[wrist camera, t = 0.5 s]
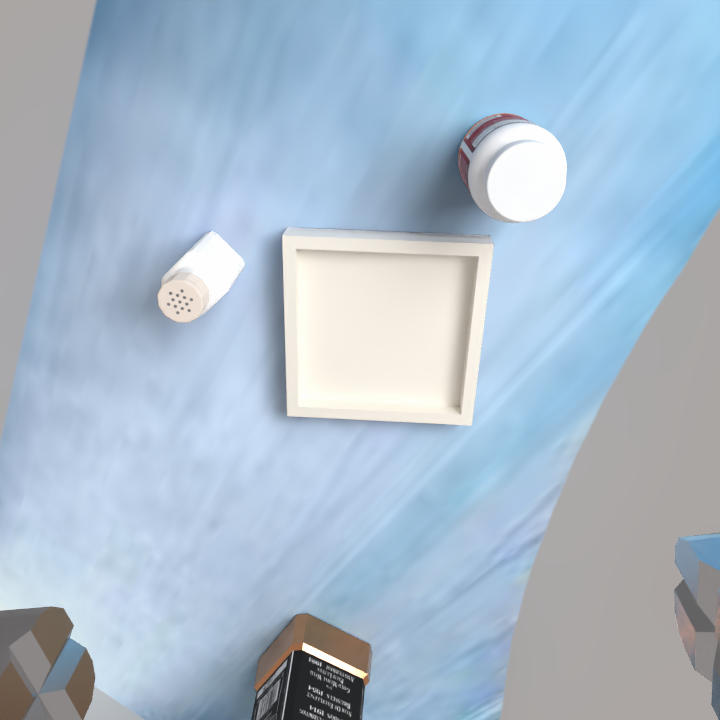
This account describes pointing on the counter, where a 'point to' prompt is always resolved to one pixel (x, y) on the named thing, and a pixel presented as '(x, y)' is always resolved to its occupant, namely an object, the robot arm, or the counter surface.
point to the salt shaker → (199, 279)
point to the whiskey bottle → (312, 674)
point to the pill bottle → (512, 168)
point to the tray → (384, 323)
